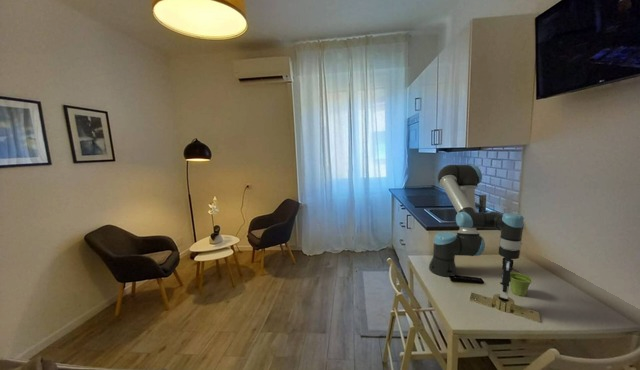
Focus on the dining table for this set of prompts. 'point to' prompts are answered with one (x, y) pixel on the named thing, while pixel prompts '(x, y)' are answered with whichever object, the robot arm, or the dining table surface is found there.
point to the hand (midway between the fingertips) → (503, 295)
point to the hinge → (505, 306)
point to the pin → (501, 297)
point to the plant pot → (519, 283)
